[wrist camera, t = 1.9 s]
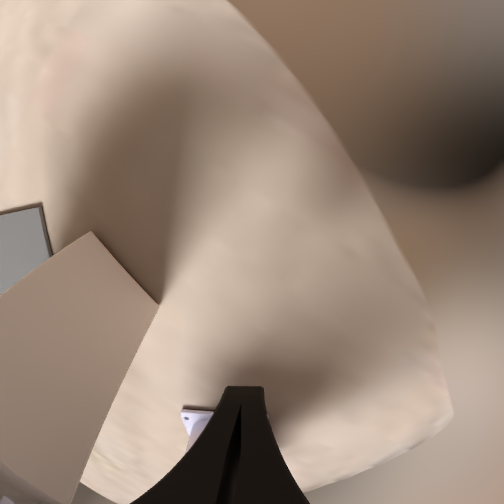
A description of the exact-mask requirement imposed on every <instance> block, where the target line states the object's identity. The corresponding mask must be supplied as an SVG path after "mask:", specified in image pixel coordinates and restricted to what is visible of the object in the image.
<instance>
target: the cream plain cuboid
mask: <svg viewBox="0 0 504 504" xmlns="http://www.w3.org/2000/svg"><path fill="white" fill-rule="evenodd" d="M158 309H159V305H158V304H157V303H156V302H155V301H154V300H153V299H152V298H151V297H150V296H149V295H148V294H147V293H146V292H145V291H144V290H143V289H142V288H141V287H140V286H139V285H138V283H137V282H136V281H135V280H134V279H133V278H132V277H131V276H130V275H129V274H128V273H127V272H126V270H125V269H124V268H123V267H122V266H121V265H120V264H119V263H118V262H117V260H116V259H115V258H114V257H113V256H112V255H111V254H110V252H109V251H108V250H107V249H106V248H105V247H104V245H103V244H102V243H101V242H100V241H99V240H98V238H97V237H96V236H95V235H94V234H93V232H92V231H89V232H88V233H86V234H85V235H83V236H81V237H80V238H78V239H77V240H75V241H74V242H72V243H71V244H69V245H68V246H66V247H65V248H63V249H62V250H60V251H59V252H57V253H56V254H55V255H53V256H52V257H50V258H49V259H47V260H46V261H45V262H43V263H42V264H40V265H39V266H38V267H36V268H35V269H34V270H32V271H31V272H29V273H28V274H27V275H25V276H24V277H23V278H21V279H20V280H19V281H18V282H16V283H15V284H14V285H12V286H11V287H10V288H9V289H7V290H6V291H5V292H4V293H2V294H1V295H0V502H1V500H2V498H3V496H6V497H8V498H9V499H11V500H12V501H13V502H15V503H16V504H71V501H72V499H73V497H74V494H75V492H76V489H77V487H78V484H79V481H80V479H81V476H82V474H83V471H84V469H85V466H86V463H87V461H88V459H89V456H90V454H91V451H92V449H93V446H94V444H95V442H96V439H97V437H98V434H99V432H100V430H101V428H102V425H103V423H104V421H105V418H106V416H107V414H108V412H109V409H110V407H111V405H112V403H113V401H114V398H115V396H116V394H117V392H118V390H119V388H120V385H121V383H122V381H123V379H124V377H125V375H126V373H127V371H128V369H129V367H130V365H131V362H132V360H133V358H134V356H135V354H136V352H137V350H138V348H139V346H140V344H141V342H142V340H143V338H144V336H145V334H146V332H147V330H148V328H149V326H150V325H151V323H152V321H153V319H154V317H155V315H156V313H157V311H158Z"/></svg>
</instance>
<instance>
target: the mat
mask: <svg viewBox="0 0 504 504" xmlns="http://www.w3.org/2000/svg"><path fill="white" fill-rule="evenodd" d="M52 256H53V255H52V252H51V248H50V244H49V239H48V235H47V230H46V226H45V221H44V216H43V210H42V206H40V207H35V208H30V209H25V210H21V211H16V212H12V213H7V214H3V215H0V295H1V294H2V293H4V292H5V291H6V290H7V289H9V288H10V287H11V286H12V285H14V284H15V283H16V282H18V281H19V280H20V279H21V278H23V277H24V276H25V275H27V274H28V273H29V272H31V271H32V270H34V269H35V268H36V267H38V266H39V265H40V264H42V263H43V262H45V261H46V260H47V259H49V258H50V257H52Z"/></svg>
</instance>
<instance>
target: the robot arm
mask: <svg viewBox="0 0 504 504" xmlns="http://www.w3.org/2000/svg"><path fill="white" fill-rule="evenodd" d="M180 415H181V418H182V420H183V423H184V425H185V428H186V430H187V433H188V435H189V441H188V445H187V449H186V453H185V455H184V456H183V458H182V459H181V460H180V461H179V462H178V463H177V464H176V465H175V466H174V468H173V469H172V470H171V471H170V472H169V473H167V474H166V475H165V476H164V477H163V478H162V479H161V480H160V481H159V482H158V483H157V484H156V485H154V486H153V487H152V488H151V489H149V490H148V491H147V492H145V493H144V494H143V495H142V496H140V497H139V498H138V499H136V500H135V501H133V502H132V503H130V504H310V503H309V501H308V500H307V498H306V497H305V496H304V494H303V493H302V491H301V490H300V488H299V486H298V485H297V483H296V481H295V480H294V478H293V476H292V474H291V473H290V471H289V469H288V467H287V465H286V463H285V461H284V459H283V457H282V455H281V452H280V450H279V448H278V445H277V443H276V440H275V438H274V435H273V432H272V429H271V426H270V423H269V415H268V414H267V412H266V407H265V401H264V388H262V387H261V386H228V387H226V388H225V391H224V393H223V395H222V398H221V400H220V402H219V404H218V406H217V408H216V409H215V411H214V412H212V411H198V410H187V409H183V410H181V412H180ZM0 504H16V503H15V502H13V501H12V500H11V499H9V498H8V497H6V496H3V498H2V500H1V502H0Z"/></svg>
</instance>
